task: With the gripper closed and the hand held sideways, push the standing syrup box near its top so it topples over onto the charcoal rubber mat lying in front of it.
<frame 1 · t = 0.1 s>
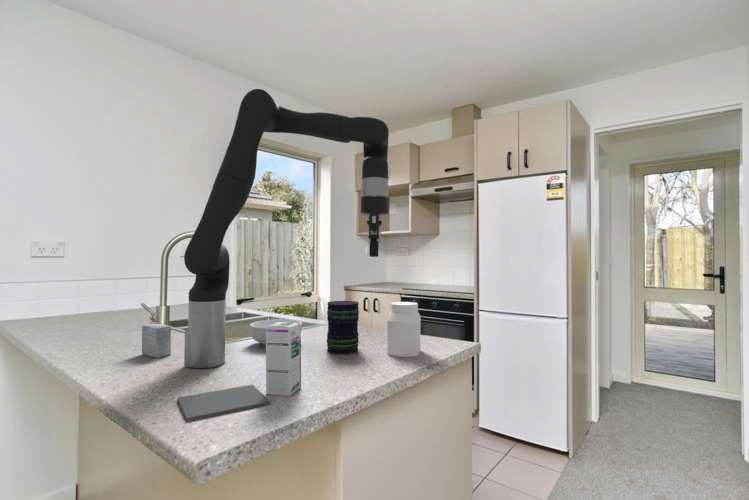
hand: (374, 256, 105), 29 cm above the counter, tool pointing down, fingers open, 8 cm apart
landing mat: (223, 402, 78), on the counter
cereal bowl: (276, 345, 130), on the counter
jar: (404, 353, 120), on the counter
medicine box: (156, 355, 115), on the counter
syrup box: (283, 391, 85), on the counter
storage jar: (342, 351, 122), on the counter
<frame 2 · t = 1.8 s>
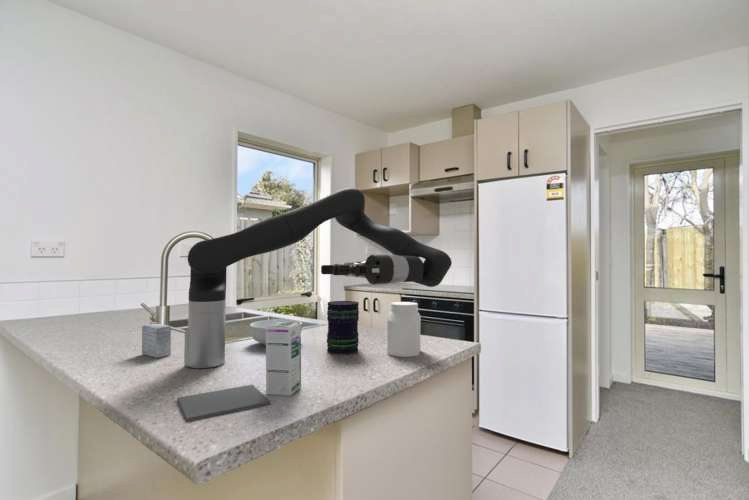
hand: (327, 270, 91), 26 cm above the counter, tool horizontal, fingers open, 5 cm apart
nothing on the counter moved.
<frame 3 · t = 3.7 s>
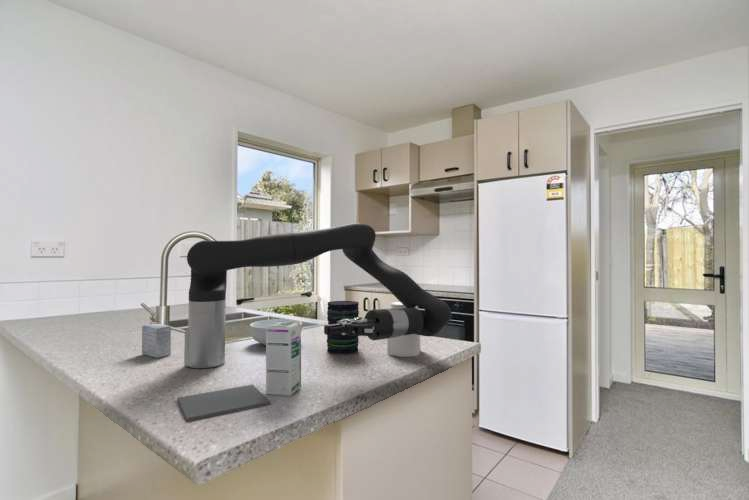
hand: (325, 330, 91), 12 cm above the counter, tool horizontal, fingers closed
nothing on the counter moved.
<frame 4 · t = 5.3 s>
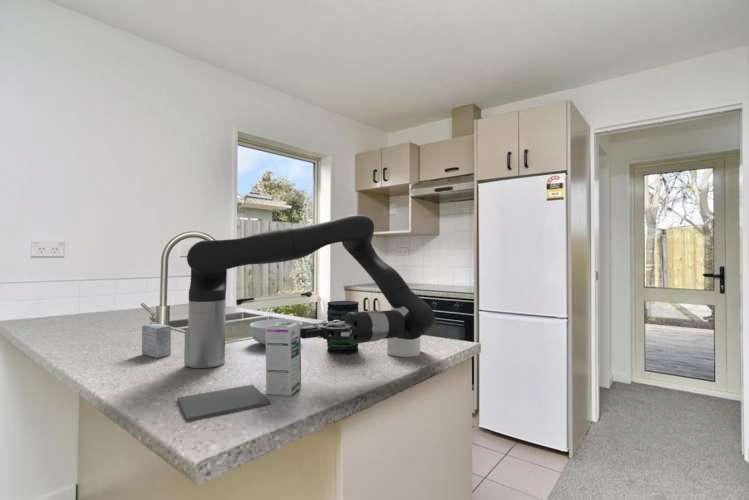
hand: (300, 333, 87), 12 cm above the counter, tool horizontal, fingers closed
syrup box: (283, 391, 85), on the counter, touching gripper
everything else where it was.
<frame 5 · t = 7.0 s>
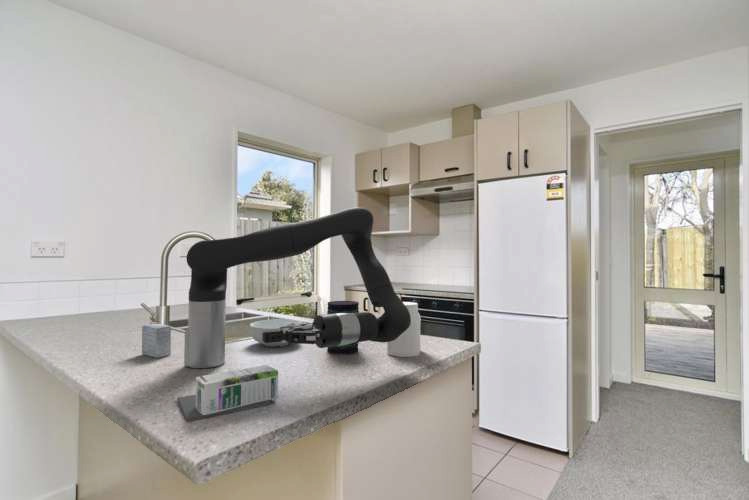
hand: (263, 337, 83), 12 cm above the counter, tool horizontal, fingers closed
syrup box: (273, 380, 81), point 3 cm above the counter, touching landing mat
everything else where it was.
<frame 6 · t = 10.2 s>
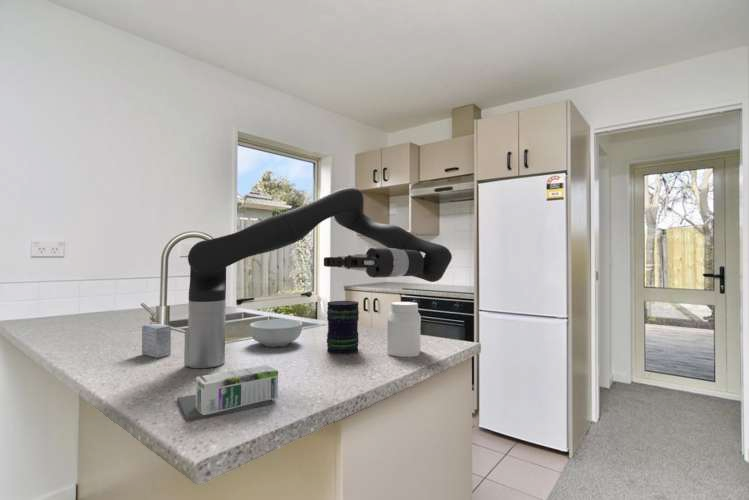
hand: (325, 261, 91), 28 cm above the counter, tool horizontal, fingers closed
nothing on the counter moved.
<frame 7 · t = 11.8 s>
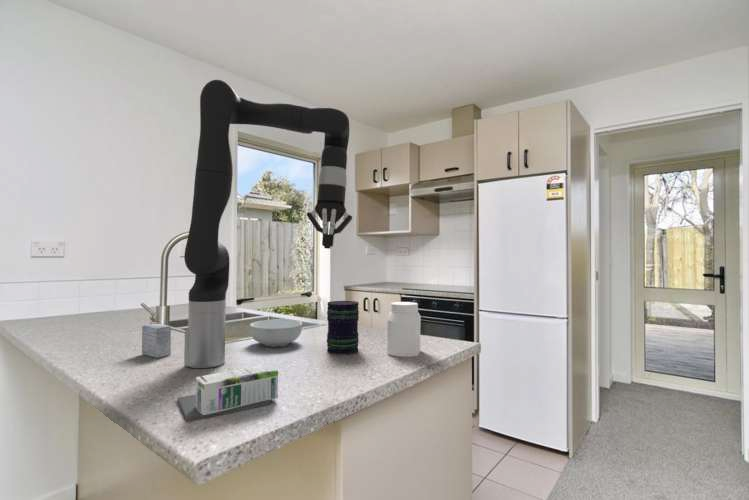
hand: (327, 248, 107), 31 cm above the counter, tool pointing down, fingers closed
nothing on the counter moved.
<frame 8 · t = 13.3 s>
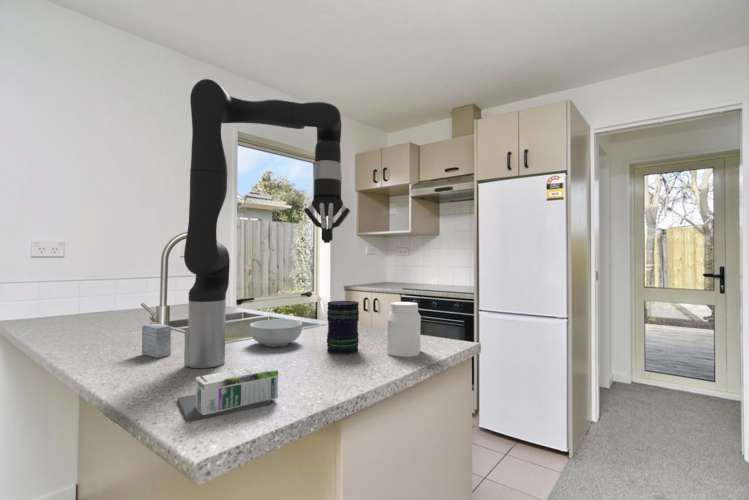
hand: (327, 242, 108), 33 cm above the counter, tool pointing down, fingers closed
nothing on the counter moved.
at the end: syrup box tilted 90°; syrup box touching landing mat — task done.
